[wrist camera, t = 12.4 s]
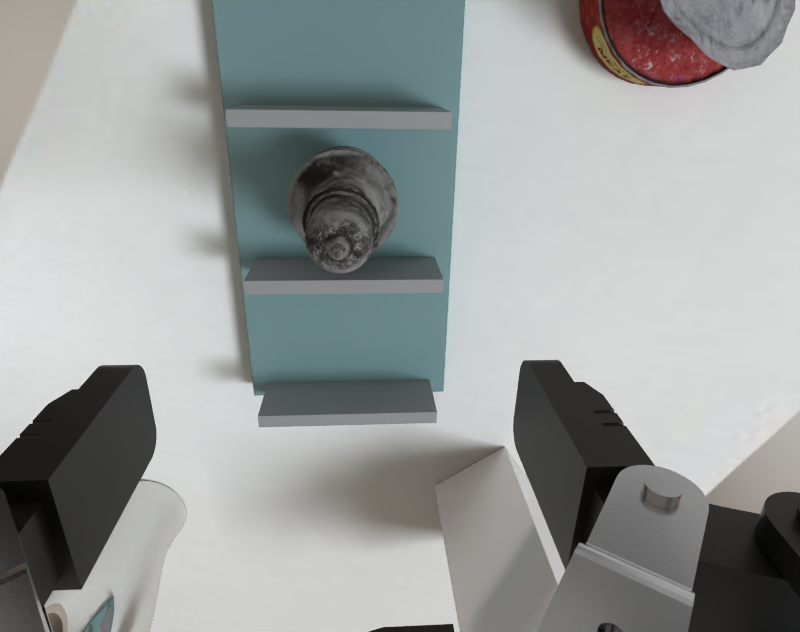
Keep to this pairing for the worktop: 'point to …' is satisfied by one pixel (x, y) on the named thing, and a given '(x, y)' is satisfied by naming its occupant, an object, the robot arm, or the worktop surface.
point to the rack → (394, 149)
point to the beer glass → (124, 568)
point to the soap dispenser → (497, 547)
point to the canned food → (682, 37)
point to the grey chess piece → (342, 207)
